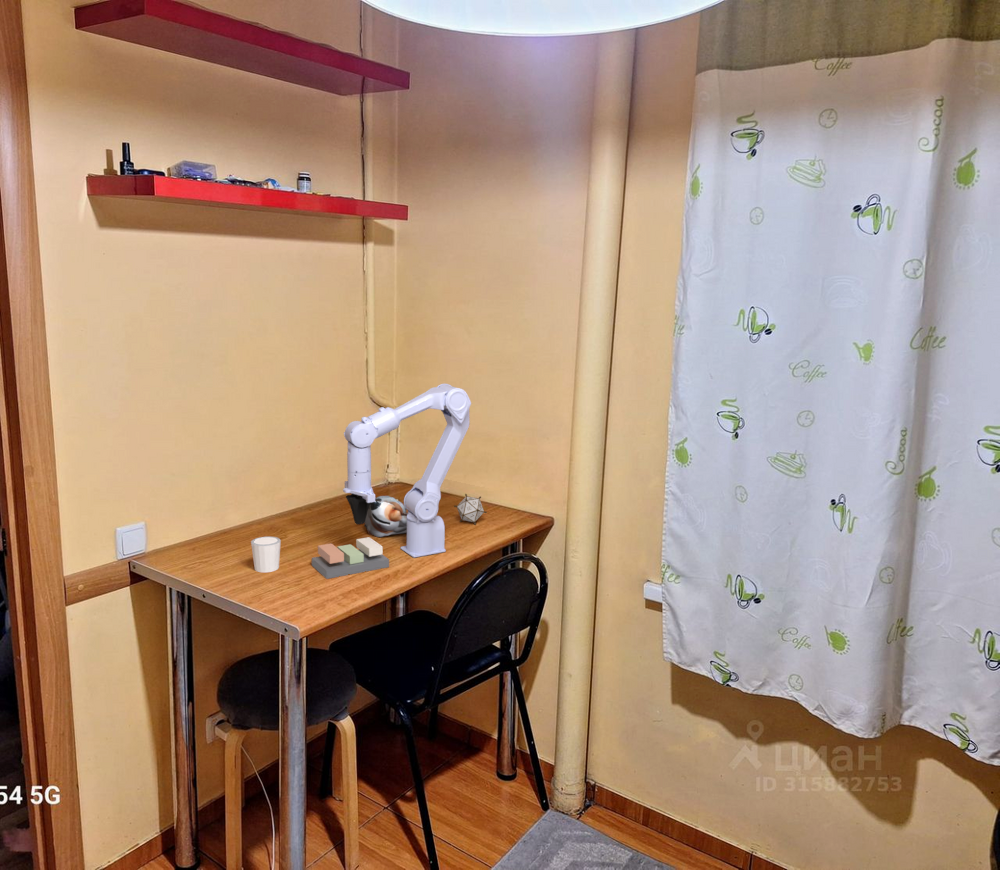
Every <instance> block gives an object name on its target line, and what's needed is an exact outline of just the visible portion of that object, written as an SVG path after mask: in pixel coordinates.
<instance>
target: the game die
mask: <svg viewBox="0 0 1000 870" xmlns="http://www.w3.org/2000/svg"><path fill="white" fill-rule="evenodd" d="M464 495H465V497H464V498H463V499H462V500H461V501H460V502H459V503H458V504H457V505H455V504H454V505H453V507H454V508H456V509H457V511H458V515H459V517H460V520H459V523H462V521H465V522H469V523H473V525H475V526H476V525H477V523H476V522H477V520H479V518H480V517H482V515H484V513H485V514H487V513H488V512H487V511H485V510H484V506H483V504H482V501H481V498H482V495H481V496H479V497H475V496H474V497H473V496H468V494H467V493H465V494H464Z"/></svg>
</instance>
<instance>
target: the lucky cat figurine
mask: <svg viewBox="0 0 1000 870" xmlns="http://www.w3.org/2000/svg"><path fill="white" fill-rule="evenodd" d="M407 514H408V512H407V509H406V508H405V506H404V503H403V502H402V501H400V499H399V498H395V497H394V496H393V497H392V496H390V495H379V496H377V497H375V502H371V504H370V506H369V509H368V512H367V515H366V520H365V523H364V528H365V529H366V531H367V534H369V535H371V536H373V535H374V536H373V537H377V538H379V537H380V538H382V537H387V536H391V535H400V534H407Z"/></svg>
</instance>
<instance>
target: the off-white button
mask: <svg viewBox="0 0 1000 870" xmlns="http://www.w3.org/2000/svg"><path fill="white" fill-rule="evenodd" d="M355 541H356V542H355V543H356V544H355V545H356V547H355V548H356V549H358V550H359V549H360V550H361V551H362V552H364V553H365V554H366V555H368V556H369V557H370V556H376V555H384V554H383V553H384V552H383V548H384V547H383V546H382V545H381V544H380V543H378V542H377V541H375V540H374V539H372V537H370V536H369V537H368V536H367V537H362V538H356V540H355Z"/></svg>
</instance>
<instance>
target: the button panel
mask: <svg viewBox="0 0 1000 870" xmlns="http://www.w3.org/2000/svg"><path fill="white" fill-rule="evenodd" d="M358 550H359V551H360V552H362V551H361V550H360V549H358ZM362 553H363V554H364V562H360V563H355V564H349V563H348V562H346V561H345V560H344V561H343V562H337V563H332V564H330V563H328V562H327V561H326V560H325V559H324V558H323V557H321V556H320V555H319V556H313V557H311V566H312V567H313V568H314V569H315V570H316V571H317V572H318V573H319V574H320V575H322V576H323V577H324V578H325V579H326V580H328V579H329V580H330V579H334V578H339V576H340V577H344V576H349V575H348V574H350V575H354V574H359V573H364V572H365V571H366V572H369V571H375V570H380V569H381V568H382V569H386V568H390V559H389V558H388V557H387V556H385V555H384V554H382V555H376V556H370V557H369V556H368V555H366V554H365V553H364V552H362Z"/></svg>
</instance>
